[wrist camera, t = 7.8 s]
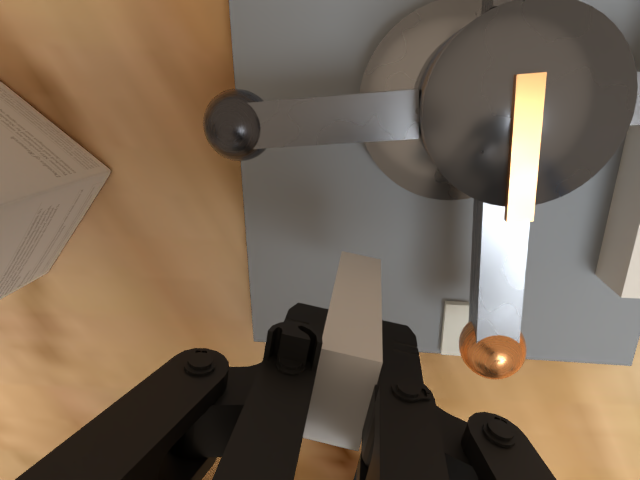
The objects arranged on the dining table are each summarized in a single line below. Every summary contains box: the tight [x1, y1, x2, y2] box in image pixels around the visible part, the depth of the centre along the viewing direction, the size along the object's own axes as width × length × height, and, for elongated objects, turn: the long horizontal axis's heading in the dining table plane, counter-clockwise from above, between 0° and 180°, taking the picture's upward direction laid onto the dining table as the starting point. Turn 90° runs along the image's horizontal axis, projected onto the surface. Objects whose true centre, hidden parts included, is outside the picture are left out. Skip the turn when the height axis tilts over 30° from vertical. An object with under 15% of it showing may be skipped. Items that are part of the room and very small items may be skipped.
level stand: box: [229, 0, 640, 366], centre depth 19 cm, size 24×21×4 cm
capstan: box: [203, 0, 640, 379], centre depth 15 cm, size 22×22×6 cm
